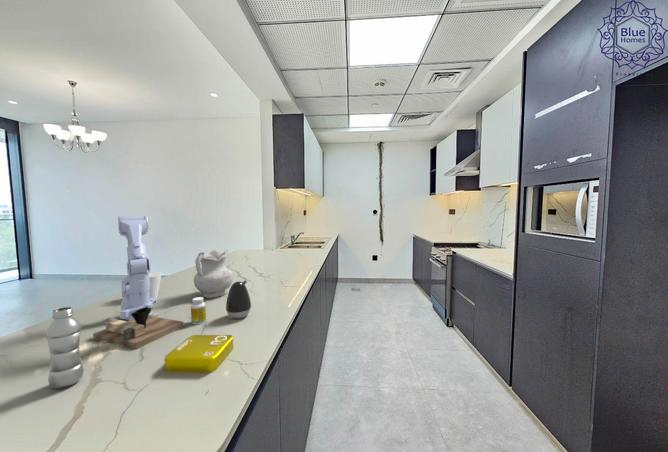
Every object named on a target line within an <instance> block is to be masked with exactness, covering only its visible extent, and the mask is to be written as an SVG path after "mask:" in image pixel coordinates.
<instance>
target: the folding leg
mask: <svg viewBox="0 0 668 452" xmlns="http://www.w3.org/2000/svg"><path fill="white" fill-rule="evenodd" d="M127 321H128V320H123V319H122V320H120V319H116V317H113V316H112V317H111V316H110V317H107V318H106V319H105V329H106V330H107V331H112V332H116V333H120V334H123V330H126V329H128V328H132V329H134V337H137V336H140V335H142V334H145V330H144V325H141V324H136V323H131V322H127Z"/></svg>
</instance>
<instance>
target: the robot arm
mask: <svg viewBox="0 0 668 452" xmlns="http://www.w3.org/2000/svg"><path fill="white" fill-rule="evenodd" d="M117 221H118V222H117V226H118V233H119V235H120V236H123V237H125V238H126V240H127V247H126V253H127V261H126V272H127V273H126V274H127V275H125V276H124V277H123V278H122V280H121V297H122V300H121V302H120V316H119V319H122V320H126V321H129V320H131V319H135V321H136V323H137V324H141V325H144V329H145V328H146V321H147V318H148V316H151V315H153V312H151V311H152V306H153V304H157V303H159V300H158V299H159V297H158V296H157V297H153V298H150V281H149V274H148V273H151V262H150V258H149V256H148V255H147V253H148V252H147V246H146V244H144V243H143V242H142V240H143V239H142V238H143V237H142V236H143V235H146V234H147V233H148V232H149V231H148V230H149V217H148V215H119V216H118V217H117Z"/></svg>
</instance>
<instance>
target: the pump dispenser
mask: <svg viewBox="0 0 668 452" xmlns="http://www.w3.org/2000/svg"><path fill="white" fill-rule="evenodd" d="M246 284H247V280H243V282H242V281H234V282H232V283H231V285H230V287H229V290H228V292H227V296H226V302H225V303H226V304H225V311H226V313H227V315H228V316H229V317H230V318H231V319H235V320H237V319H238V320H239V319H243V318H245V317H246V316H247V315H248V314H249V313H250V311H251V308H252V301H251V297H250V293H249V290H248V288H247V286H246Z"/></svg>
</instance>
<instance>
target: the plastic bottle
mask: <svg viewBox="0 0 668 452" xmlns="http://www.w3.org/2000/svg"><path fill="white" fill-rule="evenodd" d="M73 315H74V310H73V307H72V306H64V307H60V308H55V309H54V310H52V320H53V321H52V322H51V323H50V324H49V325H48V328H47V330H46V331H45V336H46V340H47V344H48V347H49V355H50V363H49V365H50V366H49V372H48V377H47V380H48V381H47V382H48V384H49V386H50V387H51V388H53V389H62V388H67V387H69V386H72V385H75V384H76V383H78V382H79V381H80V380H81V379H82V377H83V375H84V370H85V368H84V365H83V362H82V359H81V358H82V357H81V352H80V339H81V332H82V325H81V322H80V321H79V320H78V319H77V318H75V317H74V316H73Z"/></svg>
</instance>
